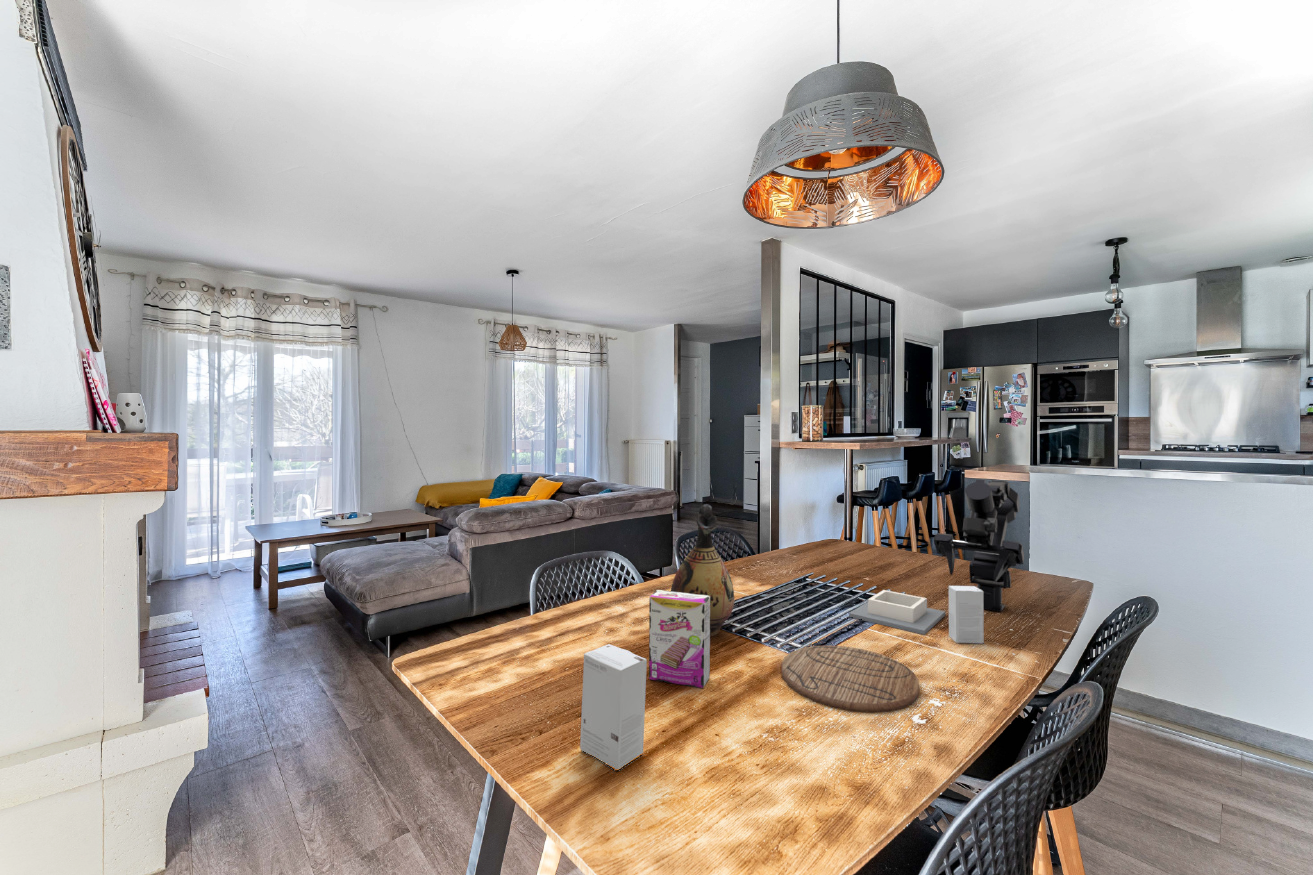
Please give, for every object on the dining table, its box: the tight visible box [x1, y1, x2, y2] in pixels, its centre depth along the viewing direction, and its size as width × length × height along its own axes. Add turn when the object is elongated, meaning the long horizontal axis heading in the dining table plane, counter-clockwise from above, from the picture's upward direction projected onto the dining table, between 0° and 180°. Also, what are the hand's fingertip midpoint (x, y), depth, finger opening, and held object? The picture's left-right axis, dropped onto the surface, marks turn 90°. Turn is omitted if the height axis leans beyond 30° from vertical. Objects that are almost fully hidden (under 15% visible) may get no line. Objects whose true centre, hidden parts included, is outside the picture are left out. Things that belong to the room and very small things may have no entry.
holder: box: [867, 589, 928, 623], centre depth 140 cm, size 11×11×4 cm
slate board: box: [848, 601, 946, 636], centre depth 140 cm, size 18×18×1 cm
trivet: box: [781, 644, 920, 714], centre depth 105 cm, size 25×25×2 cm
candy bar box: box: [648, 589, 711, 689], centre depth 105 cm, size 11×5×16 cm, turn 71°
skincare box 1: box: [579, 643, 648, 769], centre depth 81 cm, size 8×6×15 cm
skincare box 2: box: [948, 585, 985, 644], centre depth 125 cm, size 6×4×12 cm
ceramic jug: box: [670, 503, 735, 637], centre depth 131 cm, size 17×15×30 cm
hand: (972, 577), depth 130 cm, fingers open, 9 cm apart
